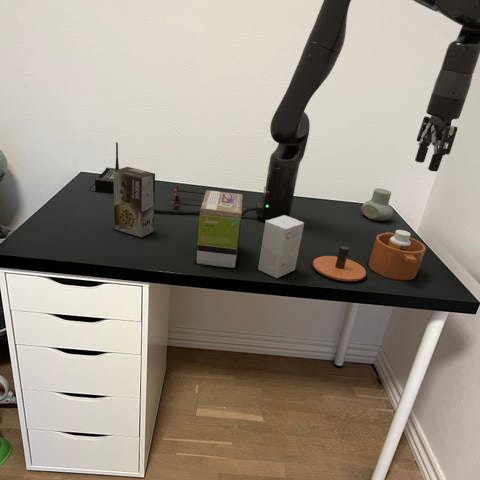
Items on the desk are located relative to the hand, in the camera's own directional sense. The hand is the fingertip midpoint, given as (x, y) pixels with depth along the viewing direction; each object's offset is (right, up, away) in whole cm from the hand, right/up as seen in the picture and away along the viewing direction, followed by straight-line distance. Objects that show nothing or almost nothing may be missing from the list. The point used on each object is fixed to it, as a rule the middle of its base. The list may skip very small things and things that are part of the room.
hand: (425, 166), depth 116 cm
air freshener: (+3, -2, +53) cm, 53 cm away
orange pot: (-4, -24, +15) cm, 28 cm away
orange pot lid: (-19, -24, +9) cm, 32 cm away
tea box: (-52, -21, +8) cm, 56 cm away
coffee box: (-75, -13, +15) cm, 77 cm away
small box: (-36, -25, +5) cm, 44 cm away
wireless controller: (-88, +7, +44) cm, 98 cm away
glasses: (-59, -1, +39) cm, 71 cm away
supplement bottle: (-4, -23, +15) cm, 28 cm away
